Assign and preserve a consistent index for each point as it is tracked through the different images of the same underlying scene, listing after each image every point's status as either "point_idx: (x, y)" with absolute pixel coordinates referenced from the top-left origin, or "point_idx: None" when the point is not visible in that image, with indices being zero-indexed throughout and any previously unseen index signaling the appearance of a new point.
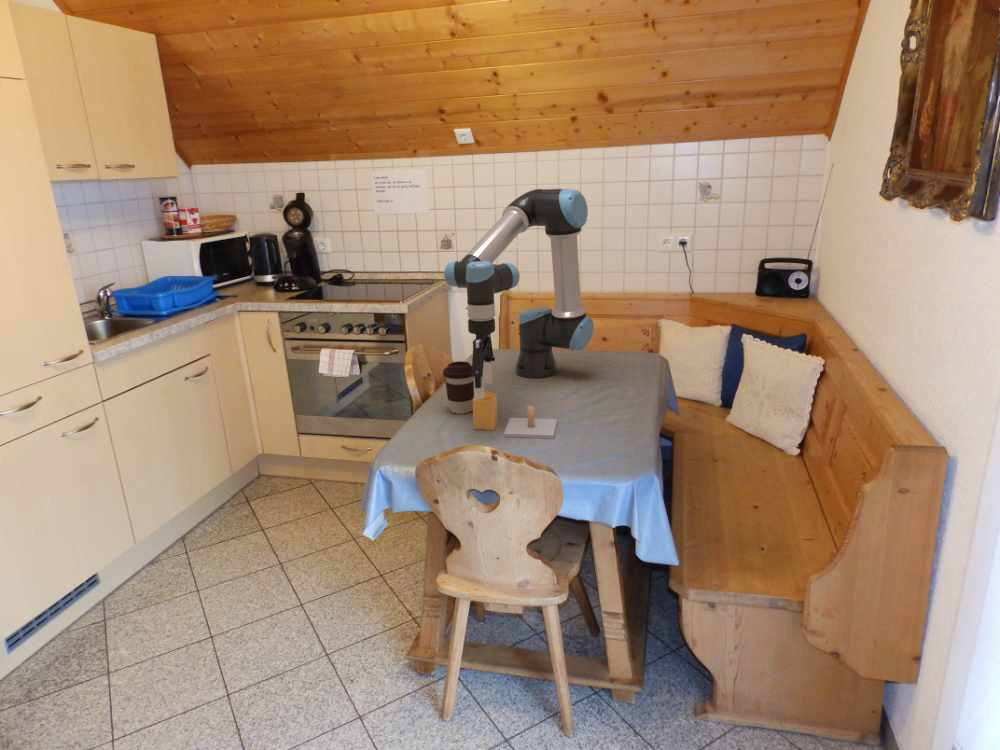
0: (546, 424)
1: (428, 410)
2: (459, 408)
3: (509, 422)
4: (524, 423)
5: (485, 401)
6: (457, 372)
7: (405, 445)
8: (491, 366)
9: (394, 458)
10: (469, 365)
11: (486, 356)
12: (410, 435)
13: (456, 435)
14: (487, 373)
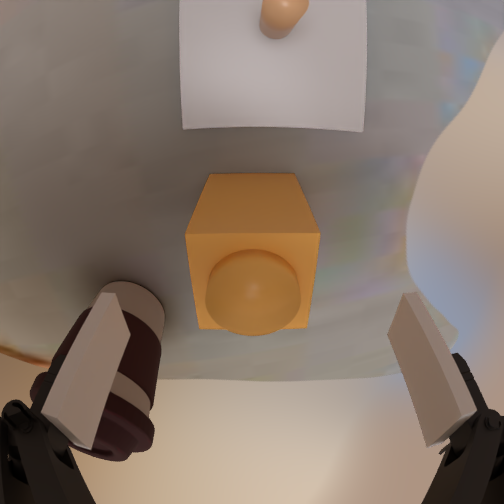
0: None
1: (161, 370)
2: (161, 322)
3: (240, 121)
4: (245, 55)
5: (314, 271)
6: (132, 438)
7: (379, 361)
8: (69, 390)
9: None
10: None
11: (75, 486)
12: (325, 370)
13: (336, 284)
14: (101, 366)
